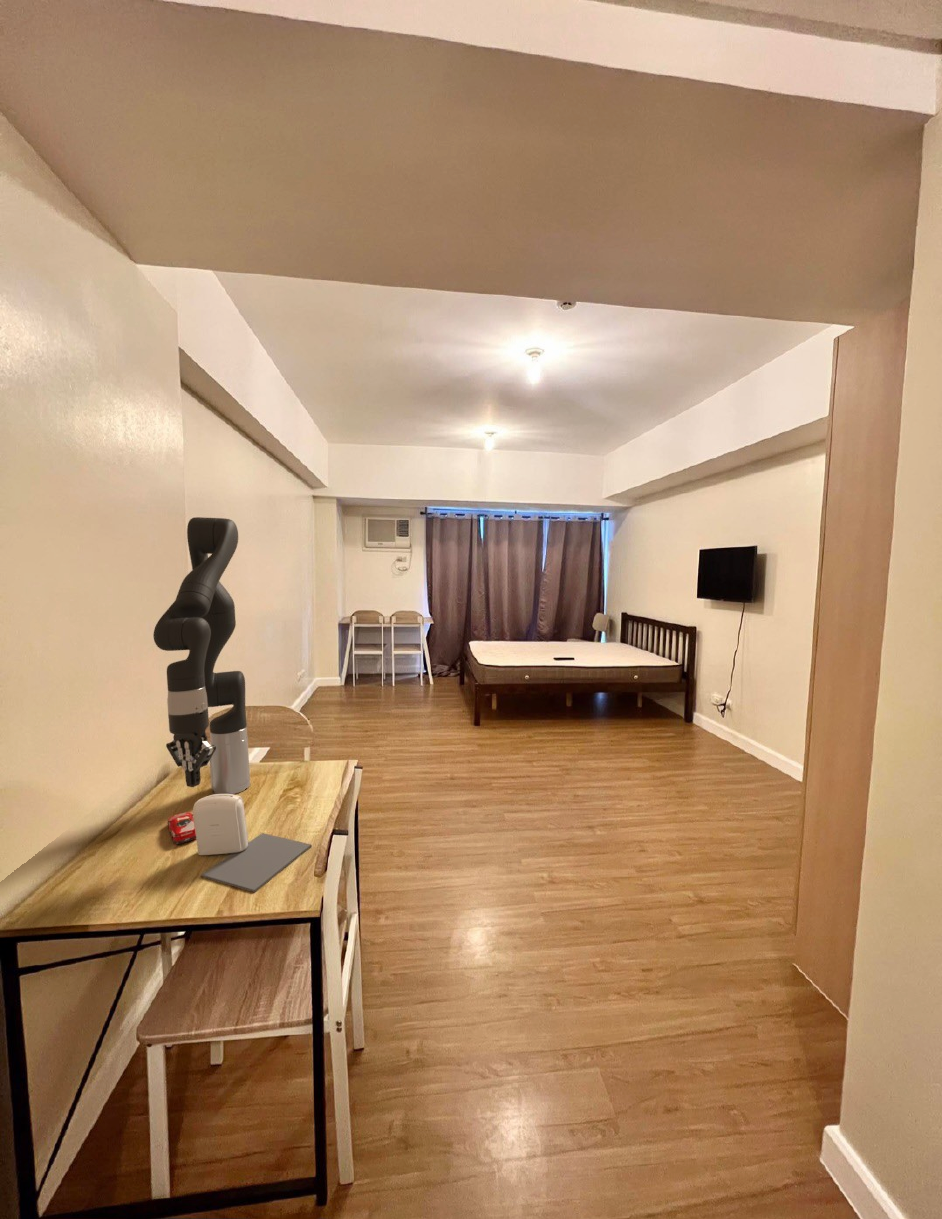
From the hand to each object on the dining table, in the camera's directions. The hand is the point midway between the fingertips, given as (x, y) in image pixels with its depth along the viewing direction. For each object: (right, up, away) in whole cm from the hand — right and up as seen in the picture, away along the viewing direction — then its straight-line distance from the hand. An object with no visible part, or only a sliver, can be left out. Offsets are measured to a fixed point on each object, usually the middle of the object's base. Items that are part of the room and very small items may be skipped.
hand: (193, 785), depth 106 cm
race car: (-6, -14, +7) cm, 17 cm away
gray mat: (+17, -14, -5) cm, 22 cm away
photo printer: (+8, -14, -2) cm, 16 cm away
